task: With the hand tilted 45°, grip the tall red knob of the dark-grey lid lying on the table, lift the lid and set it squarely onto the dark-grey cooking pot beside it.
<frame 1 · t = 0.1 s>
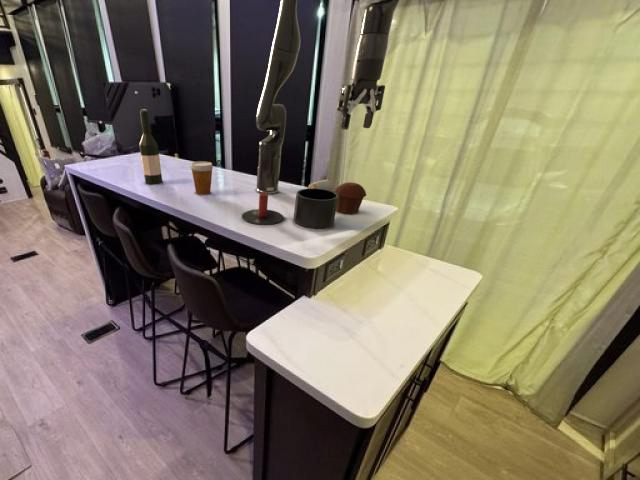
hand: (355, 128, 90), 29 cm above the table, tool pointing down, fingers open, 8 cm apart
pot: (313, 223, 108), on the table
lid: (262, 217, 110), point 1 cm above the table
muffin: (346, 211, 119), on the table
wine bottle: (153, 182, 149), on the table
ceramic mug: (320, 201, 129), on the table
disposable coffee cup: (203, 193, 136), on the table
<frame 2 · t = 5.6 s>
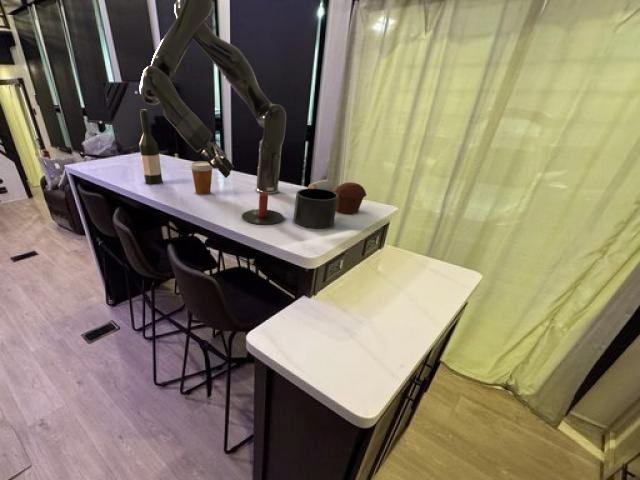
hand: (230, 172, 103), 15 cm above the table, tool tilted 45°, fingers open, 8 cm apart
nothing on the table moved.
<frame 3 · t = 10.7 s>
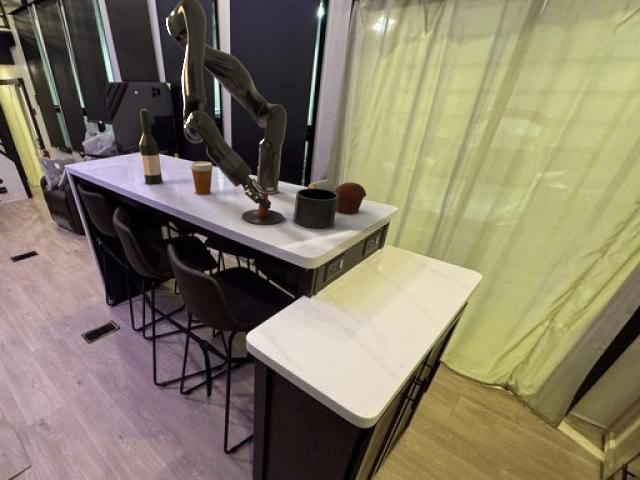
hand: (268, 207, 108), 4 cm above the table, tool tilted 45°, fingers closed on lid, 3 cm apart
lid: (262, 217, 110), point 1 cm above the table, touching gripper
everything else where it was.
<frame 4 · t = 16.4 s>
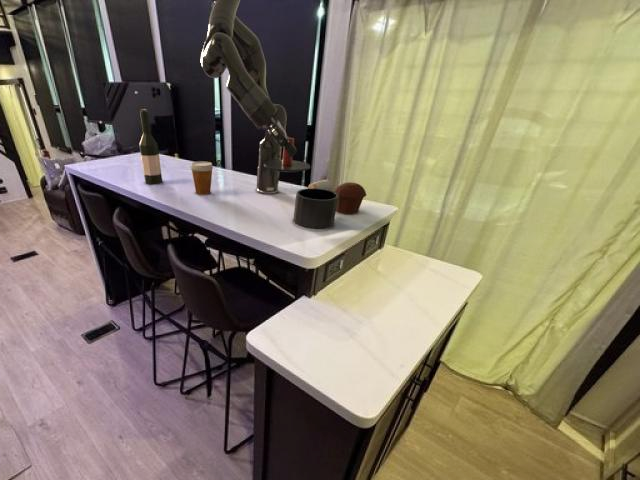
hand: (294, 153, 97), 22 cm above the table, tool tilted 45°, fingers closed on lid, 3 cm apart
lid: (286, 166, 99), point 18 cm above the table, touching gripper
everything else where it was.
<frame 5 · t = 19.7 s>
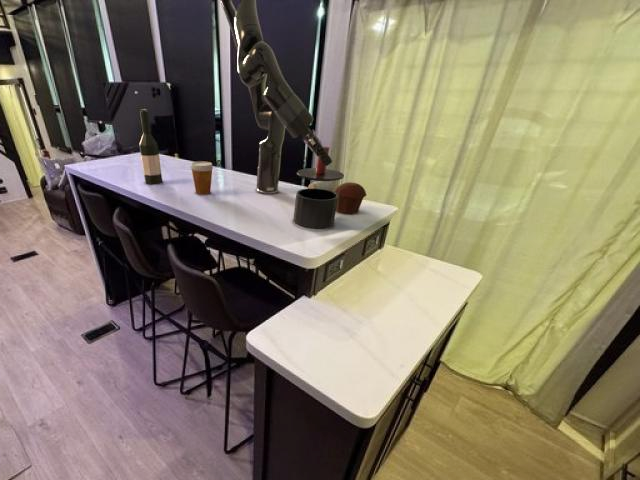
hand: (328, 162, 96), 20 cm above the table, tool tilted 45°, fingers closed on lid, 3 cm apart
lid: (320, 175, 99), point 16 cm above the table, touching gripper
everything else where it was.
when the fingers open (14 cm above the table, at t = 22.0 s): lid stays where it is, resting on pot.
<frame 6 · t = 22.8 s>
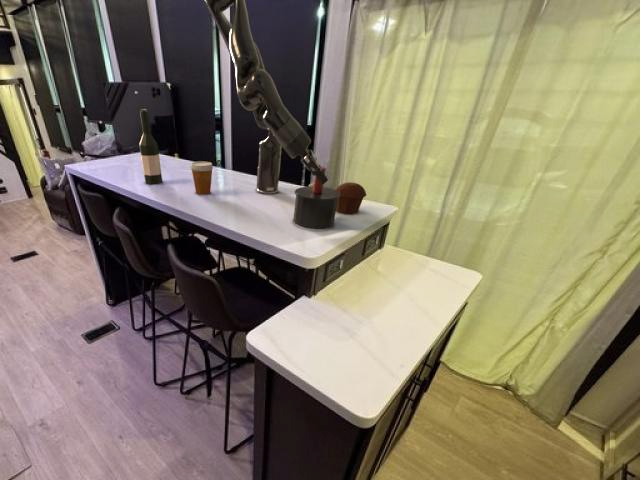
hand: (324, 178, 99), 15 cm above the table, tool tilted 45°, fingers open, 8 cm apart
lid: (317, 194, 102), point 10 cm above the table, touching pot
everything else where it was.
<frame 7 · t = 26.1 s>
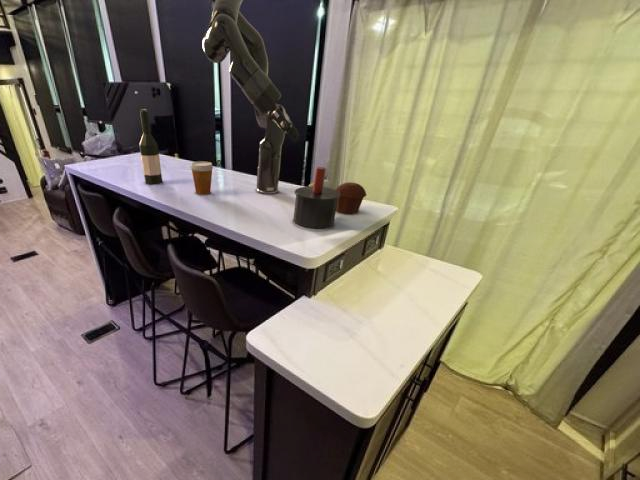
hand: (297, 138, 94), 26 cm above the table, tool tilted 45°, fingers open, 8 cm apart
nothing on the table moved.
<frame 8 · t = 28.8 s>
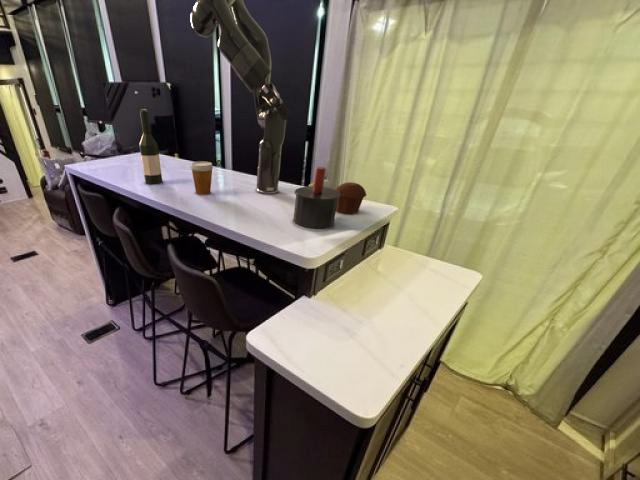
hand: (287, 116, 92), 32 cm above the table, tool tilted 45°, fingers open, 8 cm apart
nothing on the table moved.
at the end: lid 0.1 cm off-centre on the pot, point 10.0 cm above the pot's base; lid tilted 0°; the gripper is holding nothing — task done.
